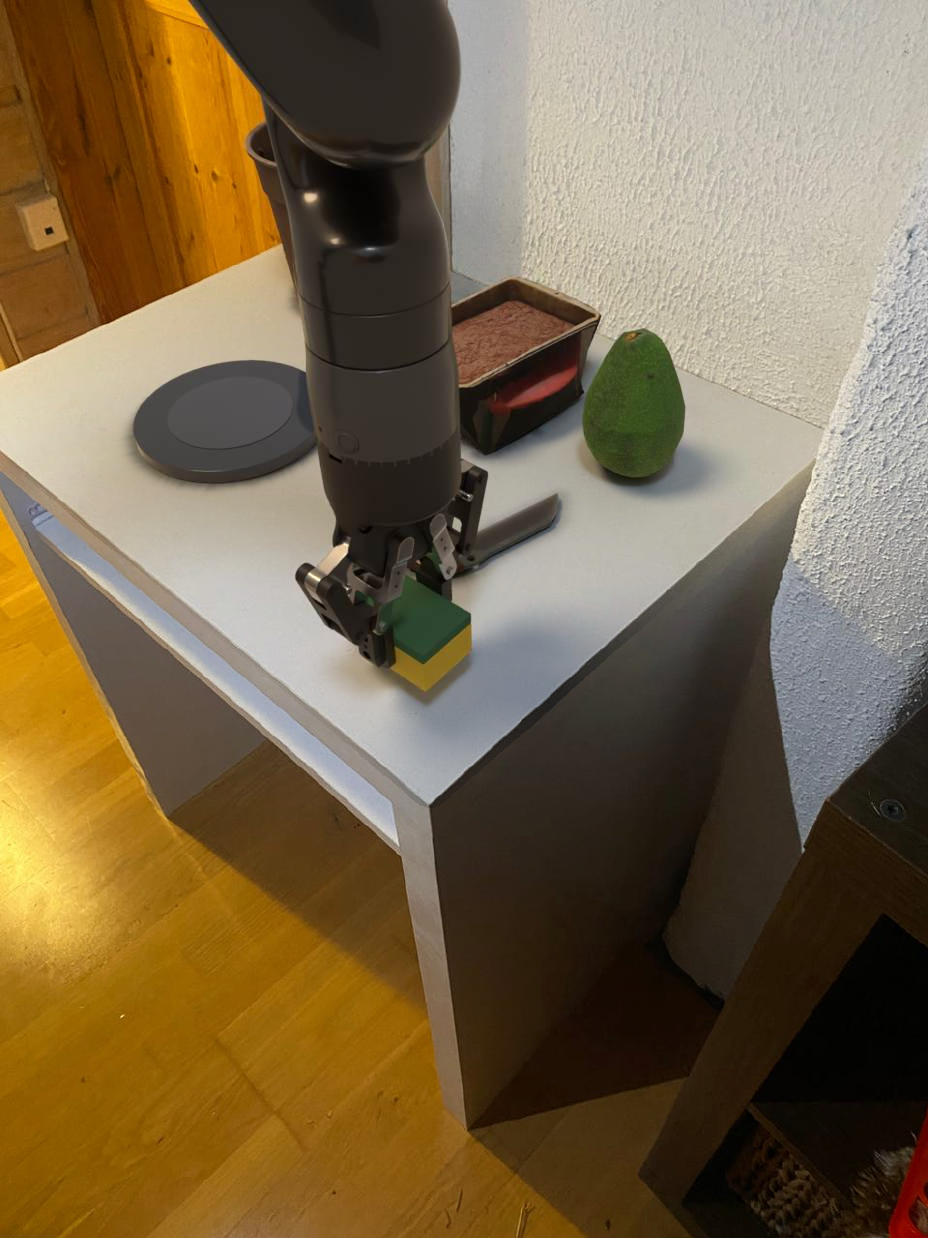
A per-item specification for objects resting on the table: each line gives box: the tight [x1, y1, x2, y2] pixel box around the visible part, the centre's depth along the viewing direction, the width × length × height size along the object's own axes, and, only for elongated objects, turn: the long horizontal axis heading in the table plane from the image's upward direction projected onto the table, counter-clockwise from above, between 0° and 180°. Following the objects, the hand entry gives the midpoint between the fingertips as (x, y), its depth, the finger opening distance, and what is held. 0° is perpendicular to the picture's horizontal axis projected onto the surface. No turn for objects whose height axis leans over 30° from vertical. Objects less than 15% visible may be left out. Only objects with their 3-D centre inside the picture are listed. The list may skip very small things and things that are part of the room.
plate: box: [132, 359, 316, 484], centre depth 82 cm, size 17×17×1 cm
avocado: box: [581, 327, 686, 478], centre depth 72 cm, size 8×8×12 cm
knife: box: [408, 492, 560, 575], centre depth 70 cm, size 14×4×1 cm, turn 125°
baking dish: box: [451, 275, 603, 456], centre depth 81 cm, size 14×18×10 cm
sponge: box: [346, 573, 473, 693], centre depth 59 cm, size 4×7×4 cm, turn 50°
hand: (407, 636), depth 59 cm, fingers closed on sponge, 4 cm apart
